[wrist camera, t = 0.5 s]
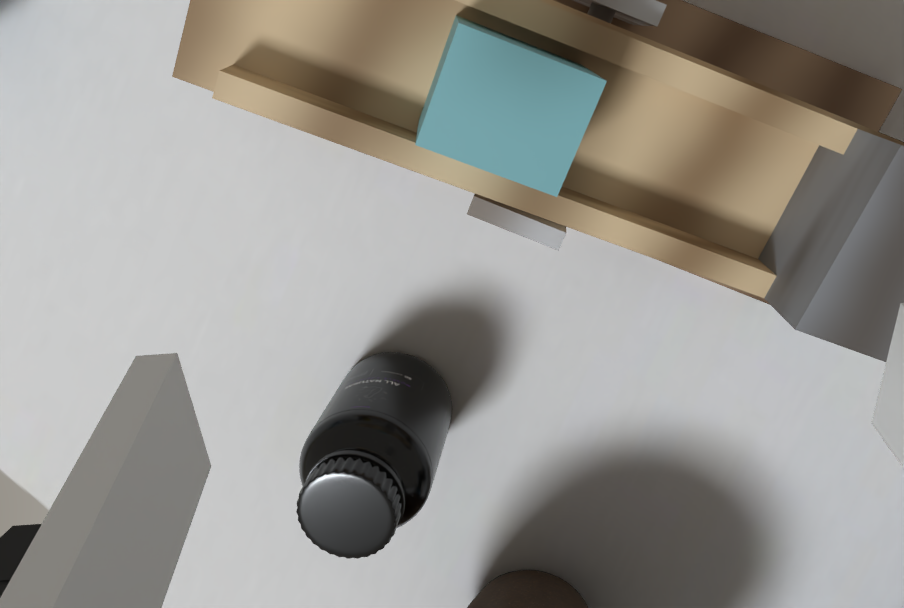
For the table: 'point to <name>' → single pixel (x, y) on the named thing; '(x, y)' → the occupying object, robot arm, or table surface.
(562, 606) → the plant pot
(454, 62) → the block
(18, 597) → the robot arm
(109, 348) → the table surface
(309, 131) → the beam
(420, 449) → the supplement bottle
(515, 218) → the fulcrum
